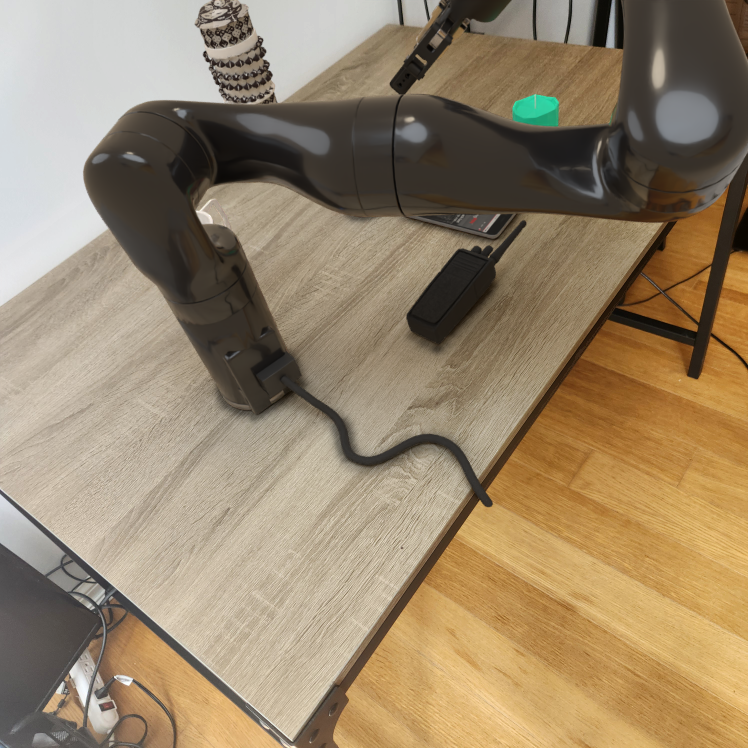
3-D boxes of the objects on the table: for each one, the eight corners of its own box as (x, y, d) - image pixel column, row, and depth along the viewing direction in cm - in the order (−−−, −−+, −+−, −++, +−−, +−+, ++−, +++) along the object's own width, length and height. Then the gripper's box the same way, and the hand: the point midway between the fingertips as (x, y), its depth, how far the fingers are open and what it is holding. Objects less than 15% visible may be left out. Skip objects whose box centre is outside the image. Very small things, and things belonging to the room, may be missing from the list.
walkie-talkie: (393, 317, 77) (486, 210, 84) (428, 353, 78) (518, 245, 85) (414, 306, 72) (513, 192, 78) (452, 345, 73) (546, 229, 79)
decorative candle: (292, 172, 107) (238, 13, 88) (240, 177, 109) (177, 22, 90) (304, 142, 112) (256, -14, 93) (254, 147, 114) (198, -5, 96)
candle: (565, 175, 92) (568, 94, 83) (528, 191, 91) (526, 111, 82) (543, 156, 96) (543, 77, 87) (507, 171, 95) (503, 93, 86)
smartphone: (428, 183, 96) (521, 204, 88) (428, 187, 96) (521, 208, 89) (401, 212, 92) (495, 236, 85) (402, 216, 93) (495, 240, 86)
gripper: (506, 17, 62) (412, 124, 75) (539, -43, 70) (449, 63, 83) (448, -41, 60) (361, 80, 73) (488, -96, 68) (404, 22, 81)
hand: (408, 71), depth 78 cm, fingers open, 8 cm apart
